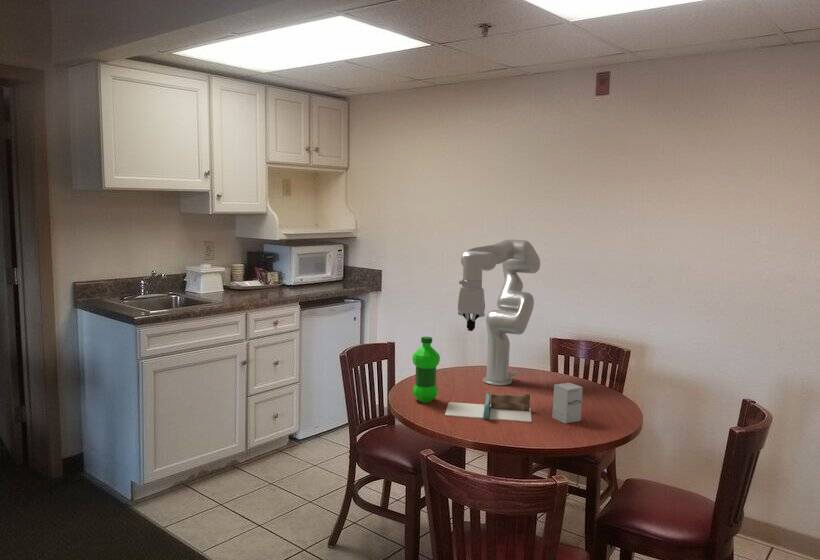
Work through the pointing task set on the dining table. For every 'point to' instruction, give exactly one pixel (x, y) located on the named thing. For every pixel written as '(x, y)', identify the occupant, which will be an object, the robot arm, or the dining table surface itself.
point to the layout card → (494, 413)
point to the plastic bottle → (425, 371)
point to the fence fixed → (510, 402)
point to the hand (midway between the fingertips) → (470, 330)
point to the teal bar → (487, 406)
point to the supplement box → (567, 402)
